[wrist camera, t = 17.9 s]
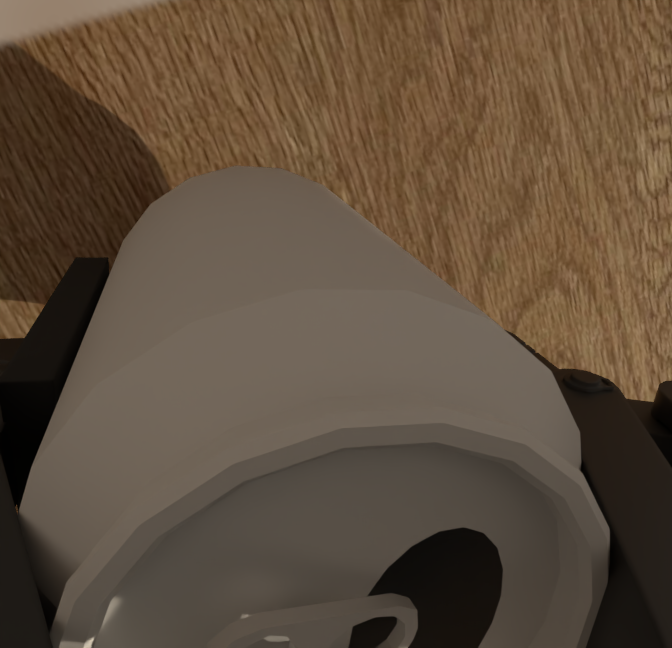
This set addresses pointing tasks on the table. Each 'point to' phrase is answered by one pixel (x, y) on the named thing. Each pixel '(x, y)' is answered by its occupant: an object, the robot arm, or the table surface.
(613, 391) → the robot arm
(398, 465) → the can
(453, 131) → the table surface
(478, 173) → the table surface
